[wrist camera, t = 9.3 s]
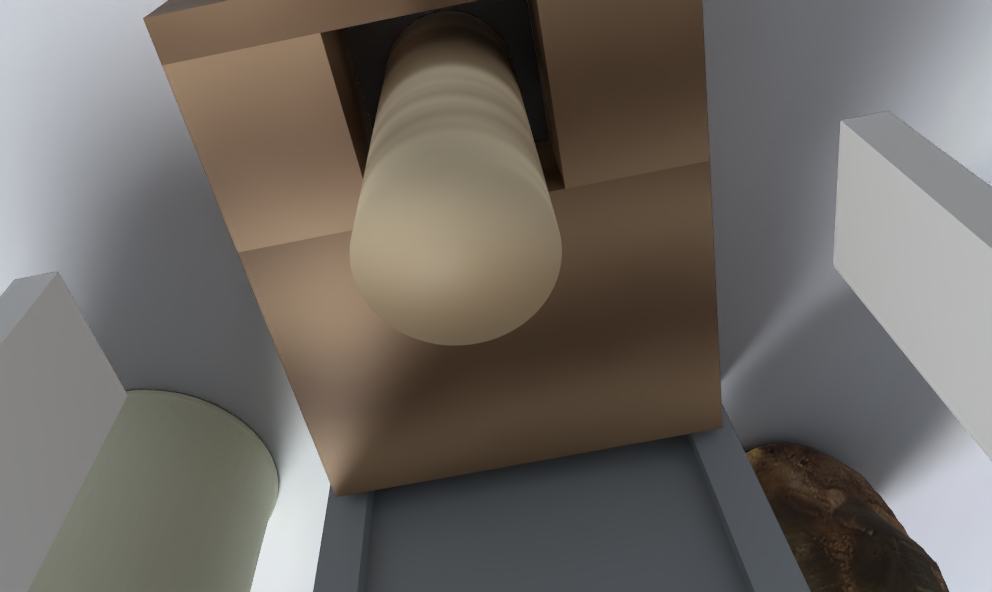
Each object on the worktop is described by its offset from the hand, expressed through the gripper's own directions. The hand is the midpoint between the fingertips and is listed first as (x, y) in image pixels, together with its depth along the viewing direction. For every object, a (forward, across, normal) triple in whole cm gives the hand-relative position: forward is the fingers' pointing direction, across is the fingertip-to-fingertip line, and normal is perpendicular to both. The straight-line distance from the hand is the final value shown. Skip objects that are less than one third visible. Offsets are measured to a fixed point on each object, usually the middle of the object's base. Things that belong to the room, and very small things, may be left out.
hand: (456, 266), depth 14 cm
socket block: (+13, 0, -6) cm, 14 cm away
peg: (+13, 0, -1) cm, 13 cm away
